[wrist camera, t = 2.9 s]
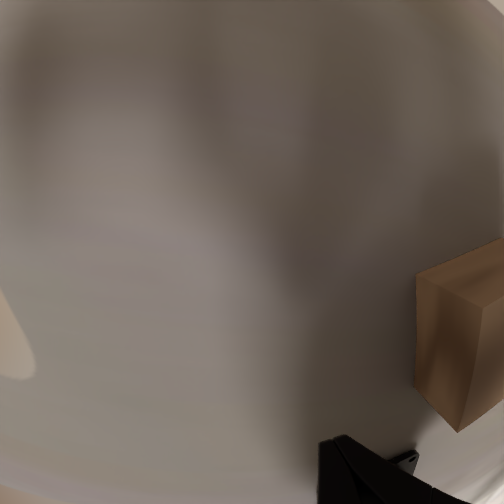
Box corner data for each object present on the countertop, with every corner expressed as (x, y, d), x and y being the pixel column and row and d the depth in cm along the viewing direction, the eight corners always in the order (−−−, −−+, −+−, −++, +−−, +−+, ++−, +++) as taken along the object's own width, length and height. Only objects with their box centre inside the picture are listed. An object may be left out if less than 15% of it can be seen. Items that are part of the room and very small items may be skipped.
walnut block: (490, 338, 13) (536, 368, 9) (411, 384, 13) (457, 432, 9) (497, 236, 12) (558, 255, 8) (412, 272, 11) (482, 308, 7)
